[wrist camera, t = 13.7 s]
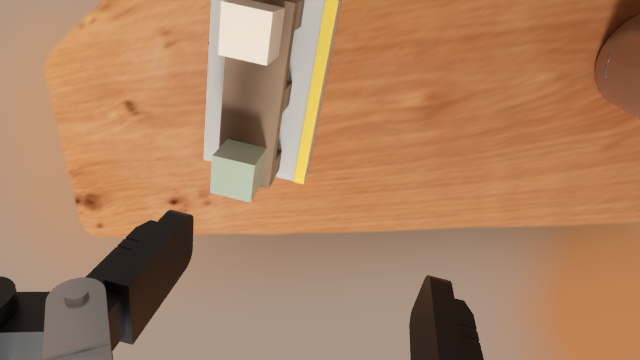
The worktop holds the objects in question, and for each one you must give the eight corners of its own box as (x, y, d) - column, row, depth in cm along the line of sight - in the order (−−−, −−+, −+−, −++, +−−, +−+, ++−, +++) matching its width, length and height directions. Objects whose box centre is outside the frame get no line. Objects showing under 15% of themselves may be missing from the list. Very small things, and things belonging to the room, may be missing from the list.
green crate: (266, 148, 40) (254, 165, 36) (262, 182, 41) (250, 202, 38) (227, 138, 40) (212, 155, 36) (224, 173, 42) (209, 192, 38)
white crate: (285, 7, 33) (272, 12, 30) (278, 56, 35) (266, 65, 32) (238, -3, 33) (221, 0, 30) (234, 46, 35) (218, 54, 32)
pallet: (304, -1, 37) (295, 3, 33) (279, 169, 46) (268, 188, 42) (246, -14, 37) (229, -11, 33) (231, 158, 46) (216, 176, 42)
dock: (343, -7, 39) (339, -5, 36) (308, 171, 49) (303, 184, 46) (224, -33, 40) (211, -33, 37) (213, 149, 49) (202, 160, 46)
